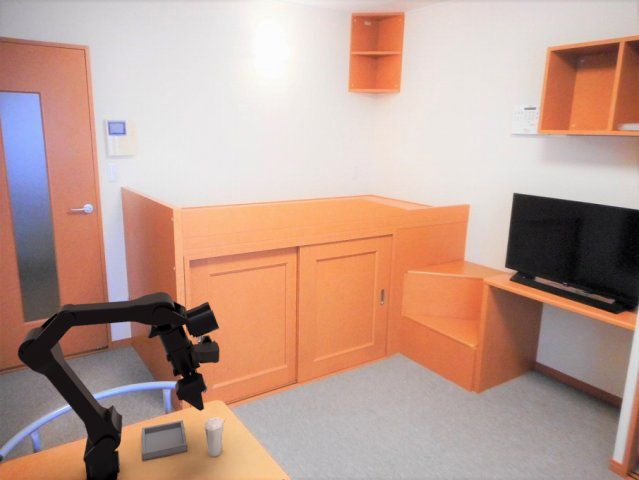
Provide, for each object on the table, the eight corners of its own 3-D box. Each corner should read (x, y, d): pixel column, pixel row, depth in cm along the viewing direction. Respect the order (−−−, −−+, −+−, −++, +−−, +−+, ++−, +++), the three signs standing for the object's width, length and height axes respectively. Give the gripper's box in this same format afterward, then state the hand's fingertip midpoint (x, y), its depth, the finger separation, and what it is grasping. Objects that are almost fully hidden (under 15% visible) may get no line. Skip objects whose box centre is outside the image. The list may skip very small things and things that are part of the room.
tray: (142, 461, 113) (142, 453, 112) (142, 434, 122) (141, 428, 122) (187, 451, 117) (186, 444, 116) (183, 426, 126) (182, 420, 126)
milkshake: (222, 460, 114) (221, 424, 111) (202, 457, 115) (201, 421, 112) (230, 448, 118) (229, 413, 116) (210, 445, 119) (209, 410, 117)
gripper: (216, 349, 100) (238, 406, 106) (205, 315, 117) (225, 366, 123) (165, 370, 98) (190, 428, 103) (161, 333, 115) (184, 384, 120)
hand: (199, 398), depth 112 cm, fingers open, 9 cm apart
